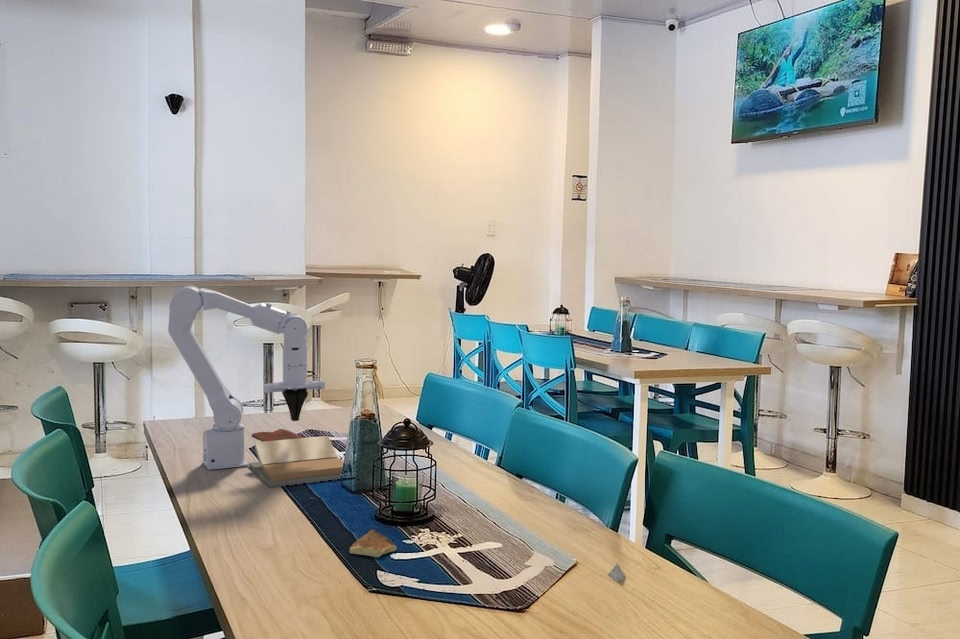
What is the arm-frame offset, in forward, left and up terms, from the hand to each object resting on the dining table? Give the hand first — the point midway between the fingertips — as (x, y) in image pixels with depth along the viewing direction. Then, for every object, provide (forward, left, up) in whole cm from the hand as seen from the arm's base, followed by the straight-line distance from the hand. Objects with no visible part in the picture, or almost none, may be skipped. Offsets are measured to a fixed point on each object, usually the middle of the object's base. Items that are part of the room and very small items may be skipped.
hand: (294, 420), depth 214 cm
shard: (-4, -62, -11) cm, 63 cm away
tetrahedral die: (+28, -92, -11) cm, 97 cm away
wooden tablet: (+4, +20, -11) cm, 23 cm away
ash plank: (-1, -4, -7) cm, 9 cm away
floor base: (-1, -9, -10) cm, 14 cm away
